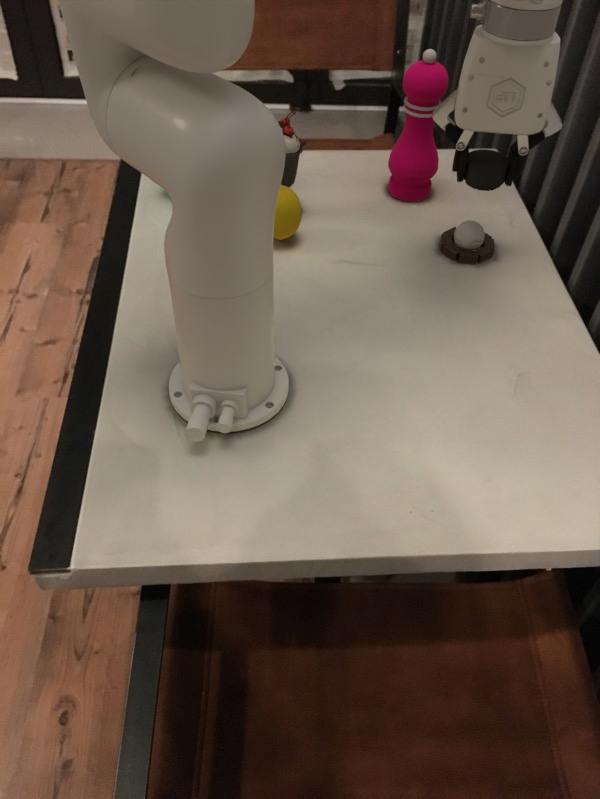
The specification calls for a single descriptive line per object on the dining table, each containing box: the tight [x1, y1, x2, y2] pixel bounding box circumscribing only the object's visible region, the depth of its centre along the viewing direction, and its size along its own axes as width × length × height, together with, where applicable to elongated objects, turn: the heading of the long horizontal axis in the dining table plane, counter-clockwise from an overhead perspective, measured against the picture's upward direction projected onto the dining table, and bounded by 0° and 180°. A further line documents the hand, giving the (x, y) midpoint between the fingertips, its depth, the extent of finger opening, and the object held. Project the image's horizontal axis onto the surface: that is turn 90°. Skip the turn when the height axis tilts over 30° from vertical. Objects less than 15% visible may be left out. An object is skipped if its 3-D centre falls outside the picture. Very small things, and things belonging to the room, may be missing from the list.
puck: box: [463, 148, 509, 192], centre depth 84 cm, size 5×5×3 cm
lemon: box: [273, 185, 302, 241], centre depth 90 cm, size 6×6×8 cm
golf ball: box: [454, 219, 486, 251], centre depth 91 cm, size 4×4×4 cm
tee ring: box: [439, 226, 496, 265], centre depth 92 cm, size 7×7×1 cm
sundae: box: [277, 109, 308, 188], centre depth 92 cm, size 7×7×15 cm
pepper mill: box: [387, 48, 449, 203], centre depth 95 cm, size 7×7×20 cm
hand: (483, 177), depth 85 cm, fingers closed on puck, 5 cm apart
